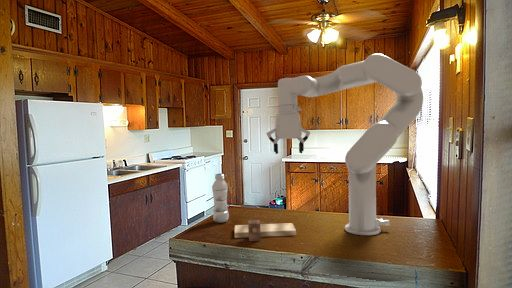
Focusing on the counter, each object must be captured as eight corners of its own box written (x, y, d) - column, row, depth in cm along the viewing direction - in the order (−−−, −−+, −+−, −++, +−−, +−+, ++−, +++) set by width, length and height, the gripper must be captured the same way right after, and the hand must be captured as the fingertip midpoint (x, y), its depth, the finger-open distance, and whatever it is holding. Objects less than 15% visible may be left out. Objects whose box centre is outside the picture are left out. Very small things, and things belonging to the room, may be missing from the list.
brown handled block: (258, 229, 125) (258, 213, 125) (260, 241, 112) (260, 224, 111) (248, 229, 125) (247, 214, 124) (249, 241, 111) (248, 224, 111)
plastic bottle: (232, 221, 137) (231, 173, 136) (220, 225, 132) (218, 175, 131) (222, 218, 141) (220, 172, 140) (209, 222, 136) (208, 174, 135)
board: (292, 227, 126) (292, 223, 126) (296, 235, 117) (296, 230, 117) (235, 229, 125) (234, 225, 125) (234, 237, 116) (234, 232, 116)
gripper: (307, 110, 134) (308, 152, 134) (265, 111, 133) (266, 153, 134) (311, 109, 126) (312, 153, 127) (266, 110, 125) (267, 154, 126)
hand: (288, 153), depth 130 cm, fingers open, 9 cm apart
